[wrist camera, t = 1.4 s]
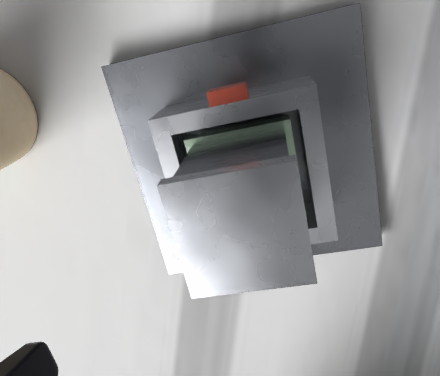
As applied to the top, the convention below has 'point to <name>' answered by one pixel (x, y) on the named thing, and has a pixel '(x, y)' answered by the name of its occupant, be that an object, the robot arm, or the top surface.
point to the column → (240, 210)
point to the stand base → (262, 116)
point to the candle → (15, 120)
